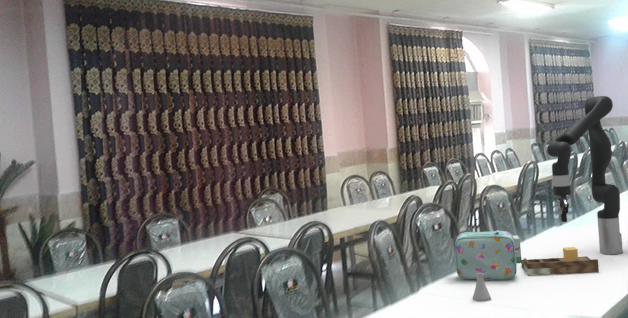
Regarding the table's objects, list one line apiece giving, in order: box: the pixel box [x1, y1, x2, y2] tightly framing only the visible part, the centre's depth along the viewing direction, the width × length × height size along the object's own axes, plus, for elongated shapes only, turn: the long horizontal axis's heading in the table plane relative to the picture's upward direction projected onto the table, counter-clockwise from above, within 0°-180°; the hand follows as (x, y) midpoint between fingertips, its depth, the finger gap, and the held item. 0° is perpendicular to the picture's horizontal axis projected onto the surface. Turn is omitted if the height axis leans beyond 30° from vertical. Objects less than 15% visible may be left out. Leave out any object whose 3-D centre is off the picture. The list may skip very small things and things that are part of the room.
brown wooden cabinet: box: [520, 256, 599, 277], centre depth 267 cm, size 29×17×6 cm, turn 80°
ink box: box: [512, 234, 522, 264], centre depth 288 cm, size 9×5×12 cm, turn 168°
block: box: [562, 246, 579, 261], centre depth 270 cm, size 5×5×5 cm
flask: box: [472, 273, 492, 302], centre depth 235 cm, size 7×7×10 cm
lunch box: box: [454, 229, 519, 281], centre depth 263 cm, size 27×10×21 cm, turn 71°
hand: (564, 221), depth 277 cm, fingers closed
